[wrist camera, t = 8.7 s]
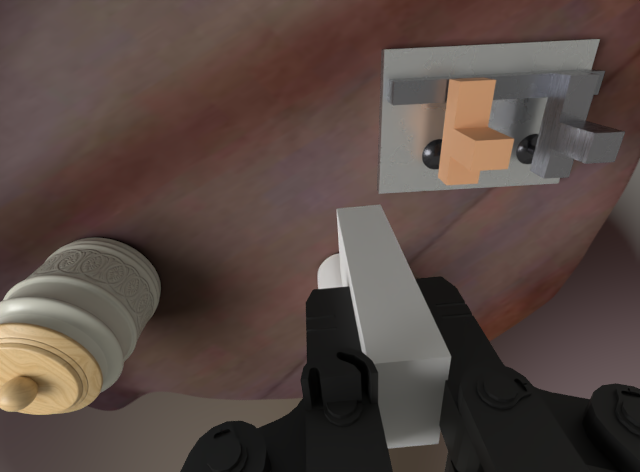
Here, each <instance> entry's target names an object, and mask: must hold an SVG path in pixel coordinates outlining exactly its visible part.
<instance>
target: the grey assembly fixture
mask: <svg viewBox="0 0 640 472" xmlns="http://www.w3.org/2000/svg"><path fill="white" fill-rule="evenodd" d="M599 41H600V39H585V40H565V41H544V42H524V43H504V44H484V45H463V46H443V47H423V48H402V49H382V58H381V87H380V116H379V144H378V173H377V191H378V193H379V194H380V193H397V192H414V191H432V190H449V189H467V188H484V187H501V186H519V185H536V184H554V183H559V180H560V178H564V177H569V175H570V171H571V168H572V165H573V161H574V159H576V160H578V161H580V162H583V163H585V164H586V163H604V162H615V159H616V156H617V153H618V151H619V148H620V145H621V142H622V139H623V137H624V134H625V132H624V131H621V130H617V129H613V128H610V127H606V126H602V125H598V124H595V123H591V122H587V121H586V118H587V115H588V111H589V108H590V105H591V101H592V98H593V95H598V93H599V89H600V86H601V83H602V80H603V76H604V73H605V71H602V70H591V69H592V65H593V62H594V58H595V55H596V52H597V48H598V45H599ZM481 77H484V78H489V79H495V80H496V84H495V90H494V95H493V101H492V107H491V112H490V118H489V124H488V127H489V128H491V129H493V130H496V131H498V132H500V133H502V134H505V135H507V136H509V137H511V138H514V143H513V147H512V152H511V157H510V162H509V166H508V169H502V170H484V171H480V175H479V181H478V184H462V185H446V184H445V183H443V182H442V181H441V180H440V179H439V178H438V172H439V163H440V155H441V146H442V138H443V129H444V121H445V112H446V104H447V96H448V87H449V79H462V78H481Z"/></svg>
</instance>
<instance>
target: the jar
mask: <svg viewBox="0 0 640 472" xmlns="http://www.w3.org/2000/svg"><path fill="white" fill-rule="evenodd" d="M160 294H161V283H160V279H159V276H158V274H157V272H156V270H155V268H154V267H153V265H152V264H151V263H150V262H149V260H148V259H147V258H146V257H144V256H143V255H142V254H141V253H140V252H138V251H137V250H135V249H134V248H132V247H130V246H128V245H126V244H124V243H121V242H119V241H115V240H112V239H107V238H97V237H93V238H84V239H80V240H76V241H74V242H72V243H70V244H67V245H65V246H63V247H61V248H60V249H58V250H57V251H56V252H54V253H53V254H52V255H51V256H50V257H49V258H48V259H47V260H46V261H45V263H44V264H43V265H42V266H41V267H39V268H38V269H37V270H36V271H35V272H34V273H32V274H31V275H30V276H29V277H28V278H27V279H25V280H23V281H21V282H20V283H18V284H16V285H15V286H14V287H12V288H11V289H10V290H9V292H8V293H7V294H6V296H5V297H4V300H3V301H1V302H0V408H1V409H3V410H5V411H9V412H13V411H17V412H21V413H26V414H35V415H47V414H58V413H67V412H72V411H76V410H79V409H81V408H83V407H85V406H87V405H89V404H90V403H92V402H93V401H94V400H95V399H96V398H97V396H98V395H99V393H100V392H102V391H104V390H106V389H107V388H109V387H110V386H111V385H113V384H114V383H115V382H116V380H117V379H118V378H119V376H120V374H121V372H122V369H123V365H124V361H125V360H126V359H127V358H128V357H129V356H130V355H131V354H132V352H133V351H134V349H135V346H136V343H137V340H138V338H139V336H140V334H141V333H142V331H143V329H144V327H145V325H146V324H147V322H148V321H149V320H150V318H151V317H152V316H153V314H154V312H155V310H156V308H157V306H158V303H159V298H160Z"/></svg>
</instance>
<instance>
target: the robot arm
mask: <svg viewBox="0 0 640 472" xmlns="http://www.w3.org/2000/svg"><path fill="white" fill-rule="evenodd" d="M337 223H338V239H339V255H340V272H341V279H342V285H343V287H336V288H325V289H314V290H313V291H312V293H311V294H310V296H309V298H308V300H307V302H306V330H307V364H306V365H305V366H304V368H303V372H302V376H301V386H302V392H303V399H302V400H301V401H300V403H299V404H298V406H297V407H296V408H295V409H293V410H292V411H291V412H290V413H289V414H287V415H286V416H284V417H282V418H280V419H278V420H276V421H274V422H271V423H269V424H267V425H264V426H262V427H260V428H256V427H255V426H253V425H252V424H249V423H246V422H243V421H229V422H225V423H222V424H220V425H218V426H215V427H213V428H212V429H210V430H209V431H208V432H207V433H205V434H204V435H203V436H202V437H201V438H199V440H198V441H197V443H196V444H195V446H194V447H193V449H192V450H191V452H190V453H189V455H188V457H187V459H186V461H185V463H184V465H183V467H182V470H181V471H180V472H393V471H392V466H391V461H390V457H389V452H388V448H398V447H408V446H419V445H430V444H438V442H439V435H440V429H441V432H442V435H443V438H444V440H445V443H446V446H447V449H448V455H447V461H446V467H445V472H640V389H638V388H635V387H633V386H627V385H621V384H609V385H602V386H601V387H600V388H598V389H597V390H595V391H594V392H593V394H592V396H591V399H585V398H579V397H574V396H568V395H563V394H557V393H552V392H548V391H545V390H541V389H538V388H536V387H534V386H533V385H532V384H531V383H530V382H529V381H528V380H527V379H526V377H524V376H523V375H521V374H520V373H518V372H516V371H515V370H513V369H511V368H509V367H506V366H504V364H503V363H502V362H501V360H500V359H499V357H498V355H497V353H496V352H495V350H494V349H493V347H492V345H491V344H490V342H489V340H488V339H487V337H486V335H485V334H484V332H483V331H482V329H481V327H480V326H479V324H478V322H477V321H476V319H475V318H474V316H472V313H471V311H470V309H469V308H468V306H467V304H465V301H464V300H463V298H462V296H461V295H460V293H459V291H458V290H457V288H456V287H455V286H453V285H452V284H451V283H449V282H448V281H447V280H445V279H444V278H443V277H431V278H420V279H415V278H414V276H413V273H412V271H411V269H410V267H409V265H408V263H407V261H406V258H405V256H404V254H403V252H402V250H401V248H400V246H399V243H398V241H397V239H396V237H395V235H394V233H393V230H392V228H391V226H390V224H389V222H388V220H387V218H386V215H385V213H384V211H383V209H382V207H381V205H371V206H361V207H350V208H339V209H337Z"/></svg>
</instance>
